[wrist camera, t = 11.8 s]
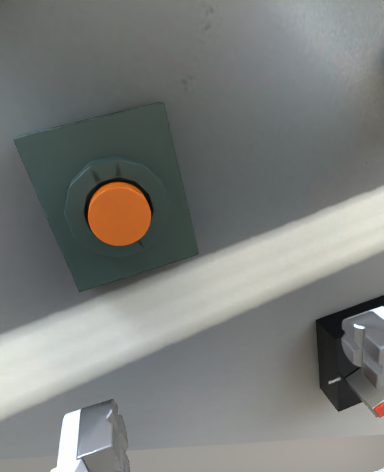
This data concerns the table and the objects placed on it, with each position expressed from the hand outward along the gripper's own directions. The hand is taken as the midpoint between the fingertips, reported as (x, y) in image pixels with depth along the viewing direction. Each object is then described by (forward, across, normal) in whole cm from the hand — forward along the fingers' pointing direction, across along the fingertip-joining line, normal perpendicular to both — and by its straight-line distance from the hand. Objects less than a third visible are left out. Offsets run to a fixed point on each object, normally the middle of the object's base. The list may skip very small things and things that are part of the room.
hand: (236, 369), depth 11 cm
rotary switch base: (+18, -19, +23) cm, 34 cm away
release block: (+18, +3, -2) cm, 18 cm away
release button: (+14, +3, -2) cm, 15 cm away
